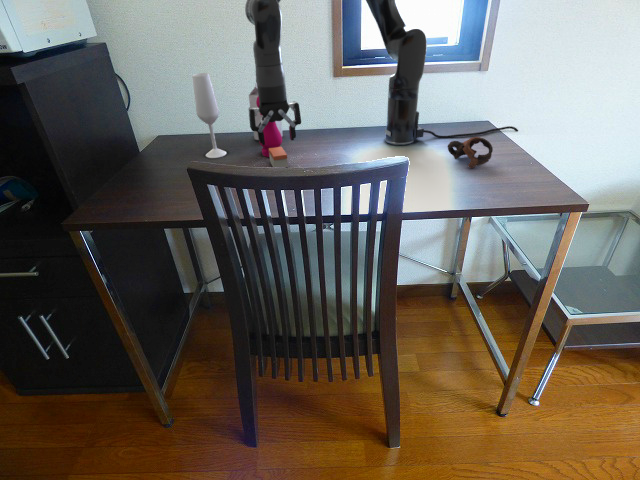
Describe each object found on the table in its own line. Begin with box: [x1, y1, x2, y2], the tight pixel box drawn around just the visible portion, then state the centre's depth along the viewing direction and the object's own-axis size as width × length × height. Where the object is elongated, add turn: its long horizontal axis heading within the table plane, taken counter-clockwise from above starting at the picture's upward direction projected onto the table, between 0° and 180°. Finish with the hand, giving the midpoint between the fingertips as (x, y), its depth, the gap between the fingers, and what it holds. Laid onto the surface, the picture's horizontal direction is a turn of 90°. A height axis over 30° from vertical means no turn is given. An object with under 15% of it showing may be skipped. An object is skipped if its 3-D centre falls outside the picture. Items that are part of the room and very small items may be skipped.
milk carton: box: [248, 82, 283, 141], centre depth 130 cm, size 7×7×19 cm
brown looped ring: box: [447, 136, 494, 169], centre depth 109 cm, size 12×10×8 cm
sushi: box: [269, 146, 289, 168], centre depth 114 cm, size 4×7×4 cm, turn 18°
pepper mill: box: [256, 96, 283, 158], centre depth 117 cm, size 7×7×20 cm
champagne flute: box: [191, 72, 228, 159], centre depth 118 cm, size 7×7×24 cm
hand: (277, 141), depth 111 cm, fingers open, 8 cm apart
